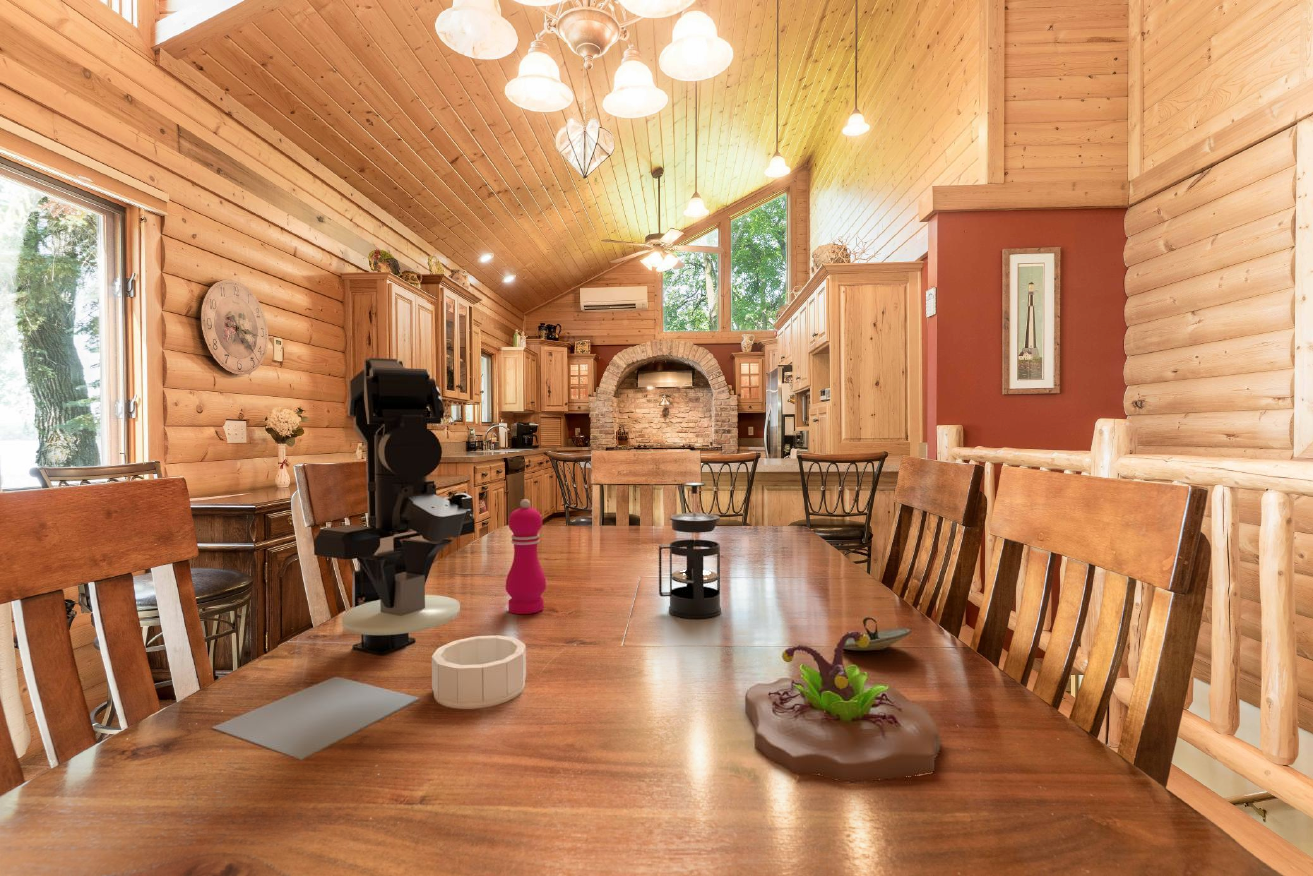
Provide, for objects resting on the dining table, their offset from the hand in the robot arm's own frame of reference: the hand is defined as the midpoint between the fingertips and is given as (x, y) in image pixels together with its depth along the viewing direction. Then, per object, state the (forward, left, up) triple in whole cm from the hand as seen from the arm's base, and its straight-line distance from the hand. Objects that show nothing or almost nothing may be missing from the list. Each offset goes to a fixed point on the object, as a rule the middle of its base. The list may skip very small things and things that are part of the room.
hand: (402, 603), depth 74 cm
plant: (+48, +15, -13) cm, 52 cm away
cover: (0, 0, -2) cm, 2 cm away
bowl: (+6, +7, -12) cm, 15 cm away
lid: (+49, +41, -12) cm, 65 cm away
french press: (+18, +48, -12) cm, 53 cm away
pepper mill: (-10, +37, -12) cm, 40 cm away
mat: (-6, -6, -12) cm, 15 cm away
